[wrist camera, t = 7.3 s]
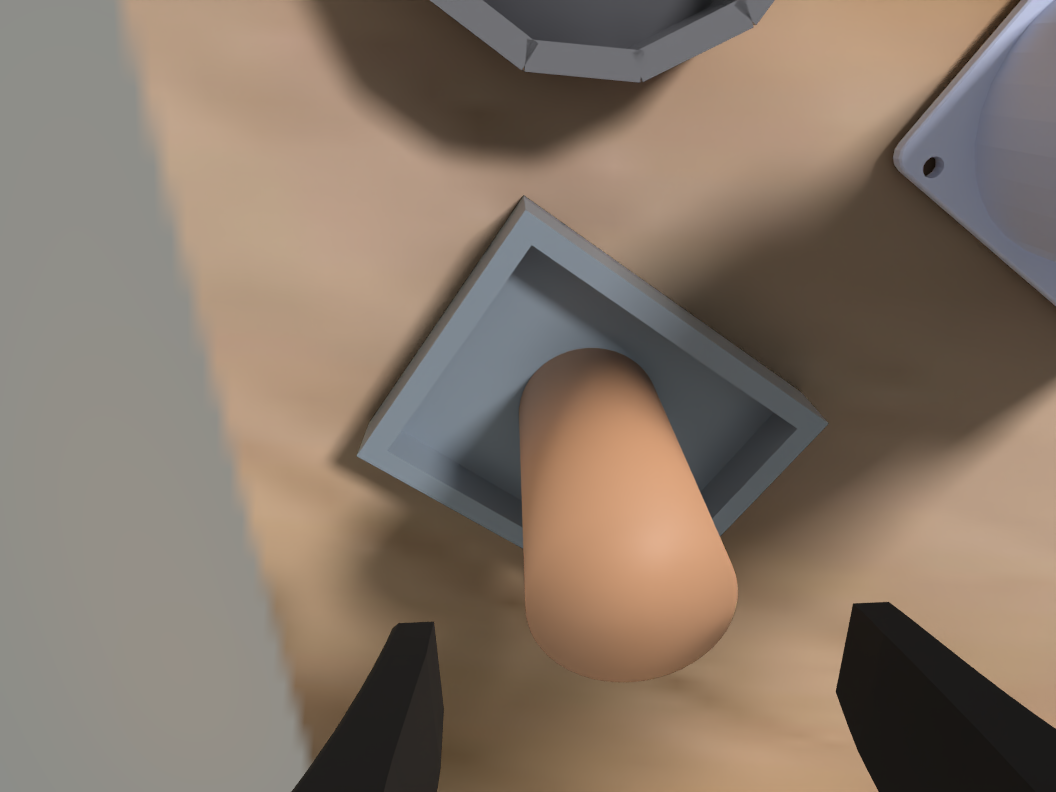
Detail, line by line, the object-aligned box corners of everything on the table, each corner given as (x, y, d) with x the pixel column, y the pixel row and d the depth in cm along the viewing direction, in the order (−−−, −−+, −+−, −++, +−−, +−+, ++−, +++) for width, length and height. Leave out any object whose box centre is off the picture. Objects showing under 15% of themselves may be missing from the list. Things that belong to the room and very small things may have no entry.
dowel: (686, 395, 21) (782, 579, 14) (602, 494, 22) (648, 709, 15) (572, 320, 20) (610, 478, 13) (492, 429, 21) (484, 628, 14)
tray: (801, 392, 22) (829, 423, 20) (633, 573, 24) (643, 615, 22) (523, 195, 19) (525, 209, 17) (369, 422, 22) (356, 456, 20)
